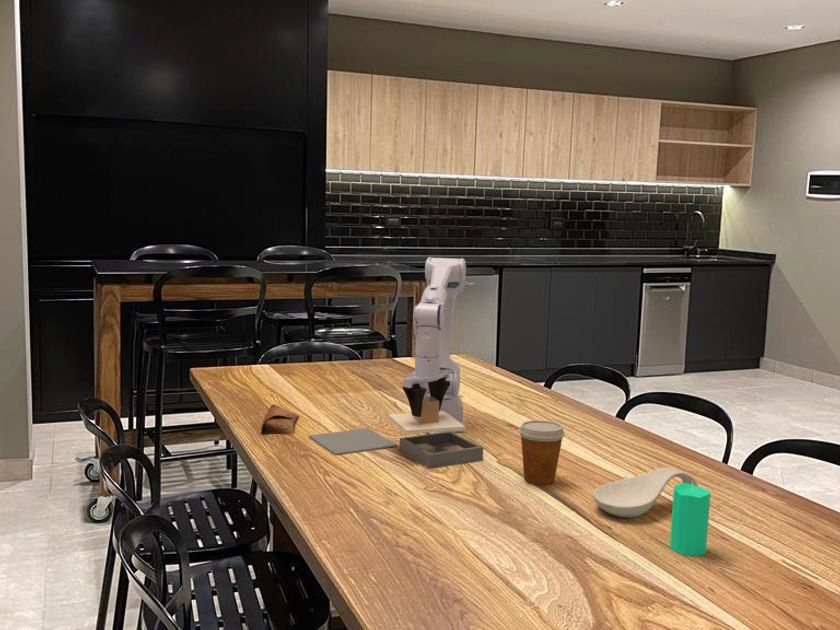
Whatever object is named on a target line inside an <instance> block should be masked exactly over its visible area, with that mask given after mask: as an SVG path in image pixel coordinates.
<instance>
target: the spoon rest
mask: <svg viewBox="0 0 840 630" xmlns="http://www.w3.org/2000/svg"><path fill="white" fill-rule="evenodd" d="M673 478H680V479H681V481H682V482H681V483H682V484H683V483H687V484H691V485H692V481H693V485H695V486H698V487H700V486H699V484H698V482H697V480H696V479H695V478H694V477H693V476H692V475H691V474H688V473H686V472H682V471H681V470H679V469H677V468H675V467H661V468H657V469H654V470H651V471H649V472H648V471H647V472H645V473H641V474H638V475H636V476H635V475H634V476H631V477H628V478H625V479H624V478H623V479H620V480H616V481H612V482H608V483H605V484H602V485H599V486H597V487H596V488H594V490H593V491H592V498H593V499H594V501H595V503H596V504H597V505H598V506H599V507H600V508H601V509H602V510H604V511H605V512H607V513H608V514H610V515H613V516H616V517H619V518H626V519H627V518H629V519H630V518H632V519H633V518H638V517H640V516H642V515H643V514H645V513H647V512H648V511H649V510H650V509H651V508H652V507H653V506H654V504H655V503H657V500H658V499H659V497H660V495H662V492H663V490H664V489H665V487H666V486H667V484H668V483H669V481H670V480H672V479H673Z"/></svg>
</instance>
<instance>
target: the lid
mask: <svg viewBox="0 0 840 630" xmlns="http://www.w3.org/2000/svg"><path fill="white" fill-rule="evenodd" d="M387 415H388V416H387V418H388V419H389V420H390V421H391V422H392V423H393V424H394V425H395V426H397V428H399V429H400V430H401V431H403V433H404V434H406V435H409V434H425V433H426V434H428V433H427V432H442V431H456V430H464V431H465V430H466V425H464V423H463V424H461V423H460V422H458V421H457V420H456V419H454V418H453V417H451V416H450V415H449V414H447V413H446V412H444V411H439V401H438V400H437V399H435V398H434V397H432V396H425V397H424V398H423V403H422V413H421V417H415V416H412V413H411V412H405V413H403V412H402V413H393V414H392V413H388V414H387Z"/></svg>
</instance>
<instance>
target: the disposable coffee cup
mask: <svg viewBox="0 0 840 630" xmlns="http://www.w3.org/2000/svg"><path fill="white" fill-rule="evenodd" d="M518 433H519V435H520V441H521V442H520V443H521V453H522V464H523V480H524V482H525V483H527V484H530V485H532V486H539V487H541V486H542V487H544V486H550V485H553V484H554V483H555V479H556V473H557V469H558V463H559V457H560V452H561V446H562V441H563V439H564V436H565V431H564V427H563V425H562V424H560V423H558V422H554V421H549V420H528V421H524V422H522V423H521V424H520V427H519V429H518Z"/></svg>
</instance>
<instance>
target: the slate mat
mask: <svg viewBox="0 0 840 630" xmlns="http://www.w3.org/2000/svg"><path fill="white" fill-rule="evenodd" d="M308 438H309V439H311V440H312V441H313V442H314V443H317V445H319V446H321V447H323V448H324V449H325V450H327V451H328V452H330V453H331V454H333V455H334V456H339V455H346V454H354V453H355V454H356V453H362V452H368V451H376V450H384V449H391V448H397V447H398V444H397V443H395V442H392V441H391V440H389V439H388V438H386V437H384V436H383V435H381V434H379V433H377V432H375V431H374V430H371V429H370V428H369V427H368V428H367V427H366V428H358V429H351V430H342V431H341V430H340V431H335V432H327V433H318V434H311V435H308Z"/></svg>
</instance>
